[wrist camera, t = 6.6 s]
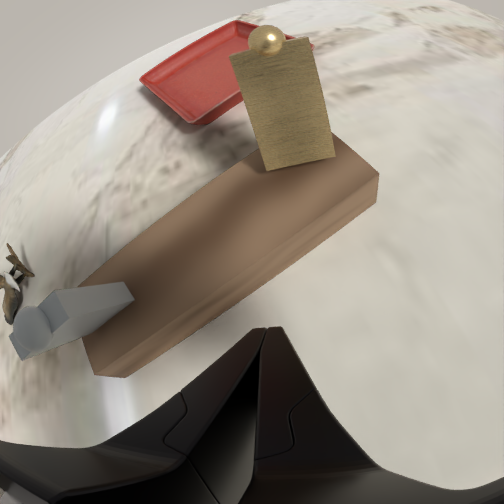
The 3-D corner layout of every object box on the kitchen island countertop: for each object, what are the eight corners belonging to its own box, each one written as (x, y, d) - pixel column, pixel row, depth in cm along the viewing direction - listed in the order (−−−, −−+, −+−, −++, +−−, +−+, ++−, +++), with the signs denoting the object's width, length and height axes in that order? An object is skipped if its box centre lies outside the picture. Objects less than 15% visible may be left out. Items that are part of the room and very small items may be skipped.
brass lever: (336, 158, 20) (303, 16, 14) (266, 173, 21) (220, 36, 15) (330, 145, 22) (298, 17, 16) (266, 159, 23) (225, 35, 17)
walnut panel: (376, 202, 24) (379, 173, 20) (125, 378, 24) (94, 375, 21) (316, 146, 28) (310, 115, 24) (97, 305, 28) (69, 293, 24)
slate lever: (138, 304, 22) (57, 330, 12) (94, 337, 22) (10, 373, 12) (120, 277, 22) (33, 285, 12) (78, 311, 22) (-11, 334, 12)
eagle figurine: (20, 246, 34) (-15, 288, 32) (-3, 238, 28) (-41, 287, 25) (49, 288, 35) (13, 330, 33) (28, 287, 28) (-12, 335, 26)
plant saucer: (241, 33, 41) (235, 17, 38) (321, 65, 33) (317, 44, 30) (147, 93, 41) (137, 78, 38) (202, 144, 32) (189, 125, 29)
